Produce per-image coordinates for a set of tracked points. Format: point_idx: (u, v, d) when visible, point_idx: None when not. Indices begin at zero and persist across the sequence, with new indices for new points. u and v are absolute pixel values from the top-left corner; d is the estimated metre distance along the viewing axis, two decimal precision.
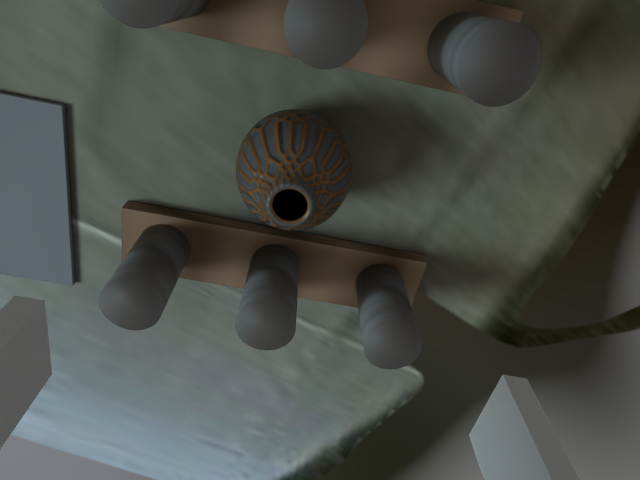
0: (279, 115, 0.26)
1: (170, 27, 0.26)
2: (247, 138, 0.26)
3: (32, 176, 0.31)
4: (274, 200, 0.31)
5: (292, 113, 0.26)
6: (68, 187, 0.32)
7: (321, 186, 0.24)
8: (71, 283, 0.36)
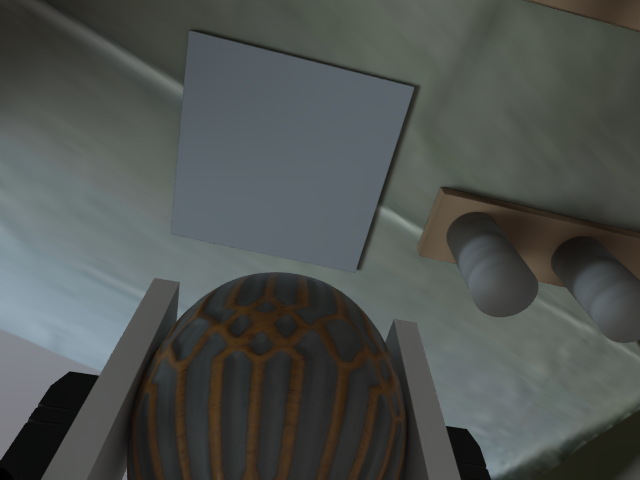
0: (232, 322, 0.10)
1: (566, 8, 0.26)
2: (151, 379, 0.10)
3: (357, 159, 0.31)
4: None
5: (265, 316, 0.10)
6: (386, 171, 0.31)
7: None
8: (354, 270, 0.35)
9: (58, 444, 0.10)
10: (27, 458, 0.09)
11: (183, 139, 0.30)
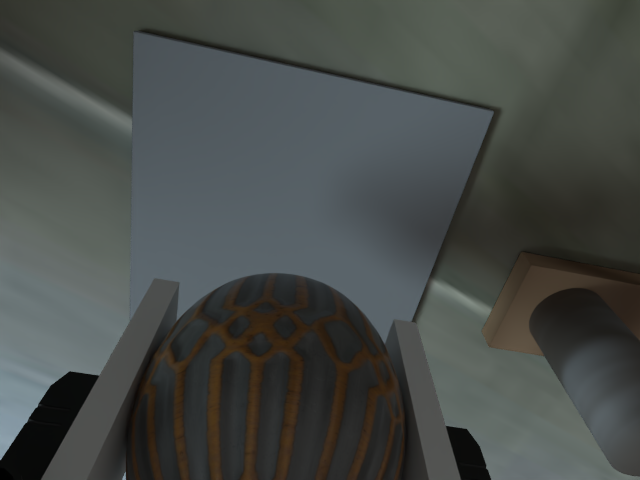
0: (230, 323, 0.10)
1: None
2: (150, 380, 0.10)
3: (401, 218, 0.21)
4: None
5: (263, 317, 0.10)
6: (444, 233, 0.21)
7: None
8: None
9: (58, 444, 0.10)
10: (27, 458, 0.09)
11: (138, 197, 0.20)
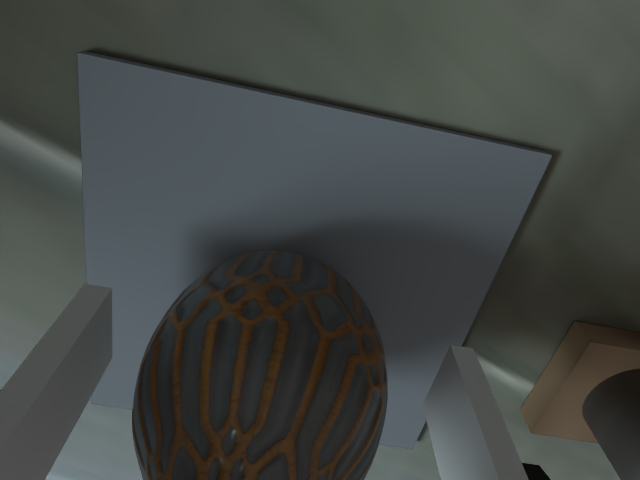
0: (228, 290, 0.11)
1: None
2: (156, 337, 0.12)
3: (427, 283, 0.16)
4: None
5: (258, 286, 0.11)
6: (479, 300, 0.17)
7: None
8: (411, 446, 0.21)
9: None
10: None
11: (93, 258, 0.16)
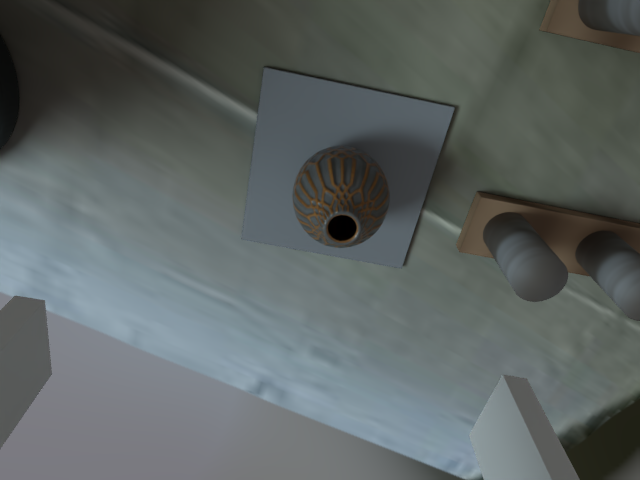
0: (331, 152, 0.31)
1: (584, 38, 0.30)
2: (304, 170, 0.31)
3: (404, 169, 0.36)
4: None
5: (342, 150, 0.31)
6: (430, 179, 0.36)
7: (367, 212, 0.29)
8: (401, 266, 0.40)
9: None
10: None
11: (255, 158, 0.35)
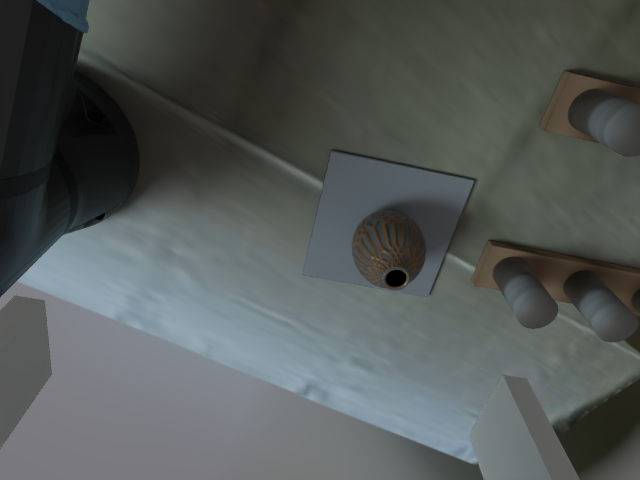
0: (384, 218, 0.42)
1: (572, 136, 0.41)
2: (363, 231, 0.42)
3: (434, 224, 0.46)
4: None
5: (391, 216, 0.42)
6: (453, 231, 0.47)
7: (413, 266, 0.40)
8: (427, 295, 0.51)
9: None
10: None
11: (319, 215, 0.46)
